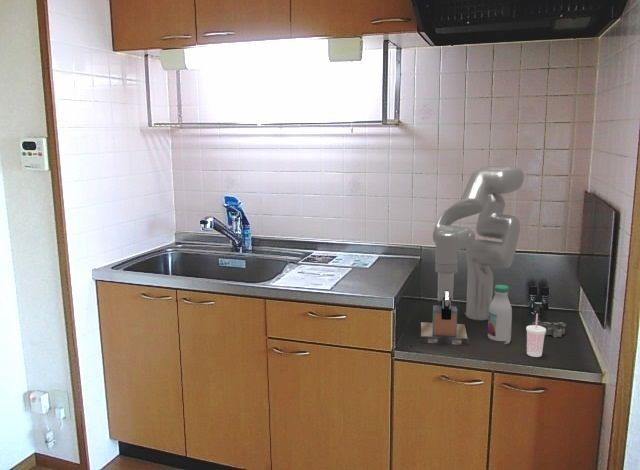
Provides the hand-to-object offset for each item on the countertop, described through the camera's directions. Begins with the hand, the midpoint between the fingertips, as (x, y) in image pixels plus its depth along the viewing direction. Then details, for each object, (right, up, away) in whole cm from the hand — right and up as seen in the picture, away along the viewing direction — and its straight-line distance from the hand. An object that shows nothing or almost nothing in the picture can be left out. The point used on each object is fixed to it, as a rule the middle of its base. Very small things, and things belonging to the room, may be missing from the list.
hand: (445, 314), depth 194 cm
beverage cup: (+27, -12, -9) cm, 31 cm away
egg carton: (+39, -8, +9) cm, 41 cm away
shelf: (+1, -9, +6) cm, 11 cm away
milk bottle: (+19, -10, +2) cm, 22 cm away
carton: (0, -9, +1) cm, 9 cm away
